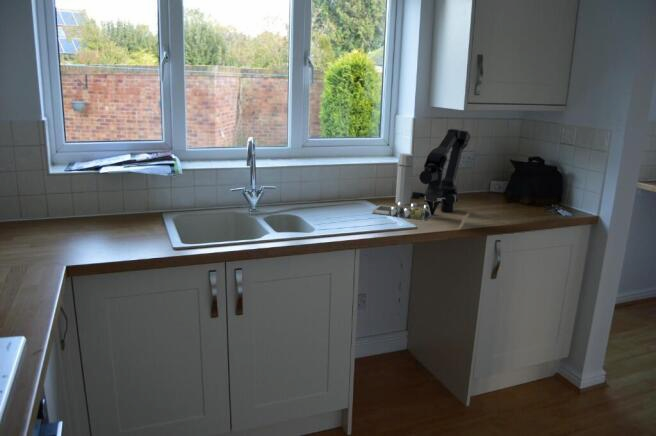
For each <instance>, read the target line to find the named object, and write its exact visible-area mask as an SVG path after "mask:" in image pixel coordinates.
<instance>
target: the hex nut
mask: <svg viewBox="0 0 656 436" xmlns="http://www.w3.org/2000/svg"><path fill="white" fill-rule="evenodd" d="M410 208H411V207H410ZM423 209H424V208H419V207H417V208H411V214H410V216H413V217H421V216H422V213H423Z"/></svg>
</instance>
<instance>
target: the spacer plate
mask: <svg viewBox="0 0 656 436" xmlns="http://www.w3.org/2000/svg"><path fill="white" fill-rule="evenodd" d="M404 207H405V205H404V202H398V204H397V206H395V205H393V206H391V205H382V204H378V205H377V206H376V207H374V208H373V209H372V211H371V215H378V216H385V217H386V216H387V217H393V218H401V219H409V220H416V221H417V220H418V221H425V222H426V221H428V220H429V218H431V216H432V215H431V213H430V209H429V206H428V204H423V208H422V209H423V212H422V216H421V217H413V216H410V214H411V208H418V204H417V203H415V202H412V203H411V202H410V207H405V208H404Z"/></svg>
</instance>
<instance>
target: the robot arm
mask: <svg viewBox="0 0 656 436" xmlns="http://www.w3.org/2000/svg"><path fill="white" fill-rule="evenodd" d="M470 141H471V134H470V133H469V131H468V130H460V129H457V128H456V129H455V128H450V129H447V132H446V135H445V136H444V137H443V139H442V140H441V142H440V144H439V145H438V146H437V147H435V148H433V149H432V150H431V151H430V152H429V153H428V154H427V156H426V157H427V158H426V160H425V163H424V165H423V168H424V170H423V171H421V172H420V174H419V181H420V183H421V184H423V185H428V186H427V188H426V191H425V192H424V191H423V190H416V189H415V190H414V191H413V192H411V199H415V200H419V199H420V198H424V203H426V204H427V205H428V206H429V209H430V213H429V214H431V216H432V217H433V216H434V214H435V213H436V210H437V207H438V206H439V204H440V212H441V213H444V214H450V213H453V212H454V205H455V204H454V203H458V202H459V198H460V196H459V192H458V191H457V189H458V186H457V183H456V177H457V174H458V170H459V165H460V162H461V157H462V153H463V151H464V150H465V149H466V147H467V146H468V145H469V142H470ZM450 150H451V151H450ZM449 152H450V156H449V158H448V154H449ZM447 161H448V163H447ZM446 164H447V166H446ZM445 166H446V167H447V168H446V172H445V176H444V178H443V173H444V170H445Z"/></svg>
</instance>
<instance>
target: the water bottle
mask: <svg viewBox="0 0 656 436" xmlns="http://www.w3.org/2000/svg"><path fill="white" fill-rule="evenodd" d="M413 165H414V154H413V153H399V155H398V162H397V164H396V166H397V173H396V190H395V204H397V205H398V202H404V206H406V205H408V206H409V205H411V199H412V184H413V183H412V182H413V181H412V180H413V169H414V168H413V167H414V166H413Z"/></svg>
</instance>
